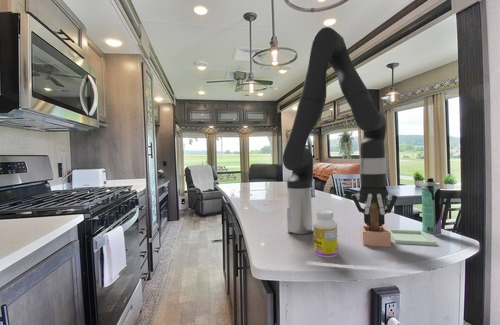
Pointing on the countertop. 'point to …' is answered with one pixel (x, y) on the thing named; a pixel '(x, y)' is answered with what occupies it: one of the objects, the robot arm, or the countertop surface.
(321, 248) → the supplement bottle
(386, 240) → the peach planter box
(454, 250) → the countertop surface
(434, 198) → the spray can
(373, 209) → the dowel
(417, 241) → the tray
